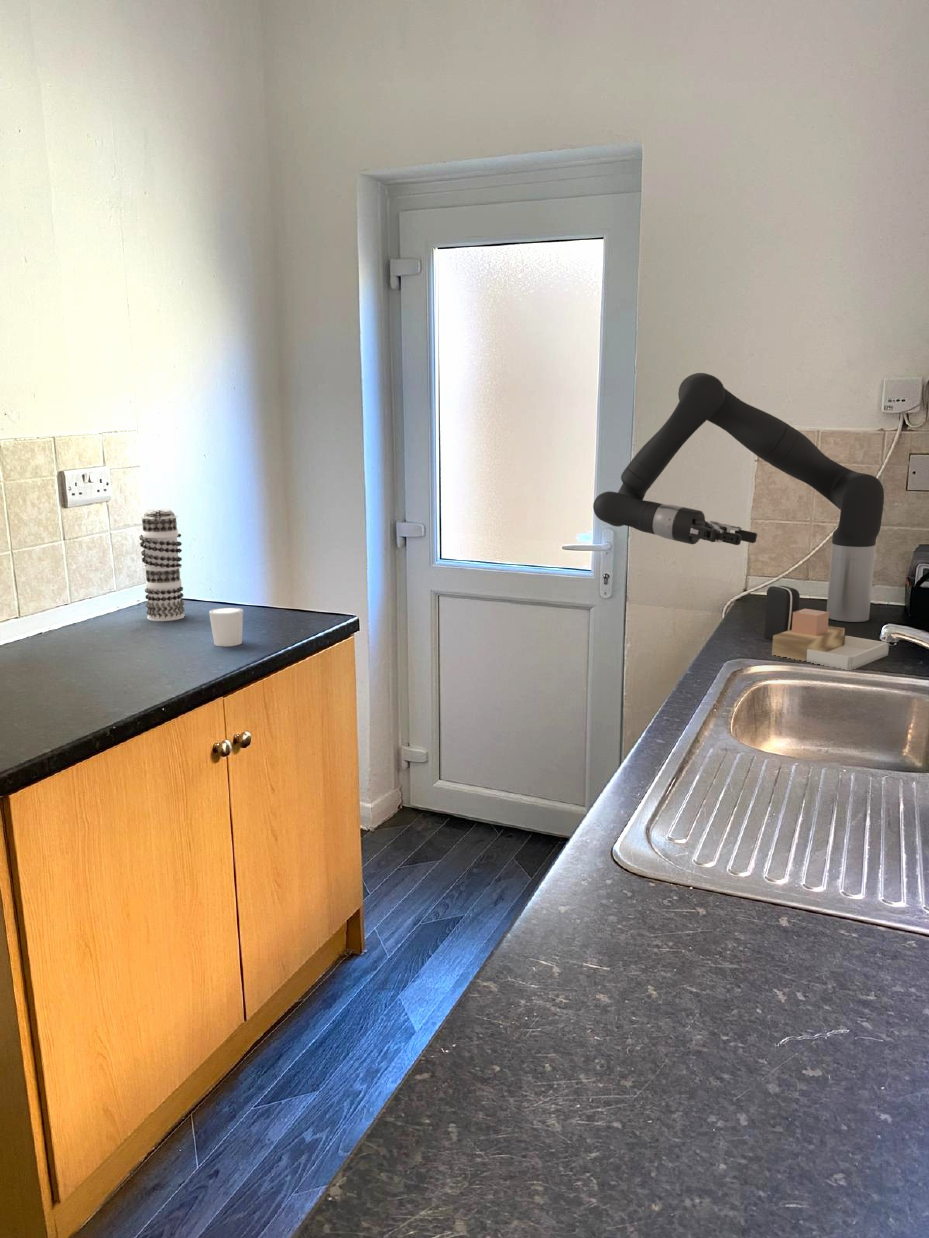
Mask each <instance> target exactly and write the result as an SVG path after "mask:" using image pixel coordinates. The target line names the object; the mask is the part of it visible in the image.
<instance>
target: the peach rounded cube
mask: <svg viewBox="0 0 929 1238" xmlns="http://www.w3.org/2000/svg"><path fill="white" fill-rule="evenodd" d="M829 619H830V618H829V612H827V611H823V610H817V609H811V608H803V609H799V611H795V612H793V620H792V632H795V633H801V634H807V635H813V636H817V635H820V634H823V633H826V632H827V631H828V626H829Z"/></svg>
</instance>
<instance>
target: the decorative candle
mask: <svg viewBox="0 0 929 1238" xmlns="http://www.w3.org/2000/svg"><path fill="white" fill-rule="evenodd" d="M177 518H178V516H177V515H175V513H174V512H173V510H171V509H163V508H162V509H160V508H159V509H148V510H147V511H145V512H144V515H143V516H140V519H141V522H142V523H141V524H142V531H141V534H140V535H139V536H138V537H139V540H140V541H141V542H139V547H141V548H142V549H143V550H142V551H141V552H140V553H141V556H143V557H142V558H141V562H142V563H144V564H145V565H144V566H143V570H144V571H145V576H146V577H145V578H146V579H145V587H146V588H145V589H144V593H146V595H145V599H146V600H147V602H146V603H145V606H146V608H147V609H146V611H145V612H146V614H147V618H146V619H147V621H148V620H149V621H152V622H169V621H177V620H180V619H183V618H185V617H184V616H185V614H184V612H185V607H184V605H185V601H184V600H183V599H182V598H183V597H184V593H183V591H184V587H183V586H182V579H181V571H180V569H181V568H182V565H183V564H181V563H180V562H181V561H182V560H183V558H182V557H181V556H179V554H180V553H182V549H181V548H180V546H182V544H183V543H182V542H181V541H179V540H178V538H180V537H181V536H182V534H181V533H179V529H178V528H177V525H178V524H177V522H178V521H177Z"/></svg>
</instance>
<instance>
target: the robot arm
mask: <svg viewBox="0 0 929 1238" xmlns="http://www.w3.org/2000/svg"><path fill="white" fill-rule="evenodd" d="M677 396H678V400H679V402H678V403H677V405H676V406H675V409H674V411H673V412H672V413H671V415H670V416H669V417H668V419H667V420H666V422H664V424H663V425H662V426H661V427H660V428H659V430H658V431H657V432H656V433H654V435H653V436H652V437H650V438H649V440H648V441H647V442H646V443H645V444H644V445H643V446H642V447H641V448H640V450H639V451H638V452H637V453H636V454H635V456H634V457H633V458H632V460H631V461H630V462H629V463H628V464H627V466H626V467H625V468H624V470H623V472H622V474H621V476H620V480H621V482H622V484H621V486H620V488H619V490H618V491H611V490H610V491H604V492H601V494H598V495H597V497H596V498H595V499H594V501H593V505H592V506H593V507H592V508H593V512H594V515H595V516H596V517H597V519H599V520H600V521H602V522H604V523H606V524H609V525H611V526H612V527H613V526H614V527H618V528H619V527H623V526H626V527H631V528H632V529H635V530H637V531H640V532H642V533H647V534H652V535H656V536H658V537H661V538H664V539H667V540H671V541H675V542H680V543H685V544H689V545H695V544H697V543H699V541H700V540H703V541H707V542H710V543H716V542H717V543H726V544H729V545H730V544H731V545H734V546H740V544H741V541H742V542H747V543H750V544H751V543H752V544H754V543H756V542H757V539H758V533H757V532H754V531H749V530H745V529H742V528H743V527H740V526H735V525H731V524H727V523H721V522H719V521H718V522H717V521H714V520H710V521H708V520H706V516H705V513H704V512H703V511H701V510H699V509H695V508H690V507H686V506H680V505H675V504H666V503H661V502H655V501H650V500H644V498H645V496H646V493H647V492H648V490H649V489H650V488H651V487H652V486H653V484H654V483H655V482H656V480H657V479H658V478H659V476H660V475H661V474H662V472H664V470H665V469H666V467H667V466H668V465H669V463H670V462H671V461H672V459H673V458H674V457H675V455H676V454H677V453H678V452H679V450H680V449H681V448H682V446H683V445H684V444H685V443H687V440H689V438H691V437H692V435H693V434H694V433H695V432H696V431H697V430H698V429H699V428H700V427H701V426H702V425H704V424H705V422H706V421H708V422H709V423H712V424H714V425H715V426H717V427H719V428H721V429H722V430H723V431H725V432H726V433H728V434H729V435H730V436H732V438H734V439H735V440H736V441H737V442H739V443H740V444H741V445H742V446H744V448H746V449H747V450H749V451H750V453H753V454H754V455H755V456H757V457H758V458H760V459H761V460H763V461H765V462H766V463H767V464H769V465H771V466H772V467H774V468H776V469H778V470H780V471H781V472H783V473H784V474H786V475H788V476H790V477H792V478H794V479H797V480H799V481H801V482H803V483H805V484H807V485H808V486H810V487H811V488H813V489H814V490H815V491H816V492H818V493H819V494H820V495H821V496H823V497H824V498H826V499H827V500H828V501H829V502H830V503H831V504H832V505H834V506H835V507H836V508H838V509H839V510H840V513H839V522H838V526H837V528H836V529H835V530H834V531H833V533H832V538H831V549H830V550H831V551H830V562H829V563H830V564H829V577H828V589H827V590H828V591H827V601H826V612H829V619H830V620H835V621H838V622H839V621H840V622H846V623H847V622H850V623H852V622H853V623H861V622H867V621H869V619H870V610H871V609H870V608H871V599H872V590H873V589H872V588H873V577H874V566H875V554H876V545H877V544H876V543H877V538H878V535H879V533H880V531H881V526H882V521H883V518H882V517H883V511H884V503H885V502H884V501H885V489H884V486H883V484H882V481H880V480H879V479H878V478H877V477H876V476H874V475H872V474H869V473H863V472H858V471H857V472H856V471H854V470H852V469H850V468H848V467H845V466H843V465H842V464H840V463H838V462H836V461H834V460H833V459H831V458H830V457H828V456H827V455H825V453H823V451H821V450H820V449H819V448H818V446H817V445H816V444H814V442H812V441H811V439H809V438H808V437H807V436H806V435H805V434H803V433H802V432H801V431H799V430H798V429H796V428H795V427H793V426H792V425H790V424H788V423H786V422H785V421H784V420H782V419H780V418H778V417H776V416H774V415H772V414H770V413H768V412H766V411H765V410H762V409H760V408H757V407H756V406H753V405H750V404H749V403H746V402H745V401H743V400H742V399H739V397H737V396H735V395H734V394H733V393H731V392H730V390H728V389H726V388H725V387H724V385H723V383H722V382H721V380H720V379H719V378H718V377H716V376H714V375H712V374H708V373H706V372H705V373H704V372H696V373H692V374H690V375H688V376H687V377H685V378H684V379H683V380H682V381H681V383H680V385H679V387H678V395H677ZM732 531H734V532H732Z"/></svg>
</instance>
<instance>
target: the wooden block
mask: <svg viewBox="0 0 929 1238" xmlns="http://www.w3.org/2000/svg"><path fill="white" fill-rule="evenodd" d="M845 629H846V628H845V627H838V626H832V625H828V631H827V632H826V633H823V634H820V635H817V636H813V635H807V634H801V633H795V632H792V630H789V631H785V632H782V633H779V634H776V635H773V640H772V647H771V656H773V655H776V656H775V657H778V656H780V657H779V658H783V657H787V658H786V659H789V658H791V659H790V660H794V659H795V661H799V660H801V661H800V662H804V661H806V659H807V649H811V650H817V651H822V652H827V651H830V650H833V649H836V648H838V647H841V646H844V642H845Z"/></svg>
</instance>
